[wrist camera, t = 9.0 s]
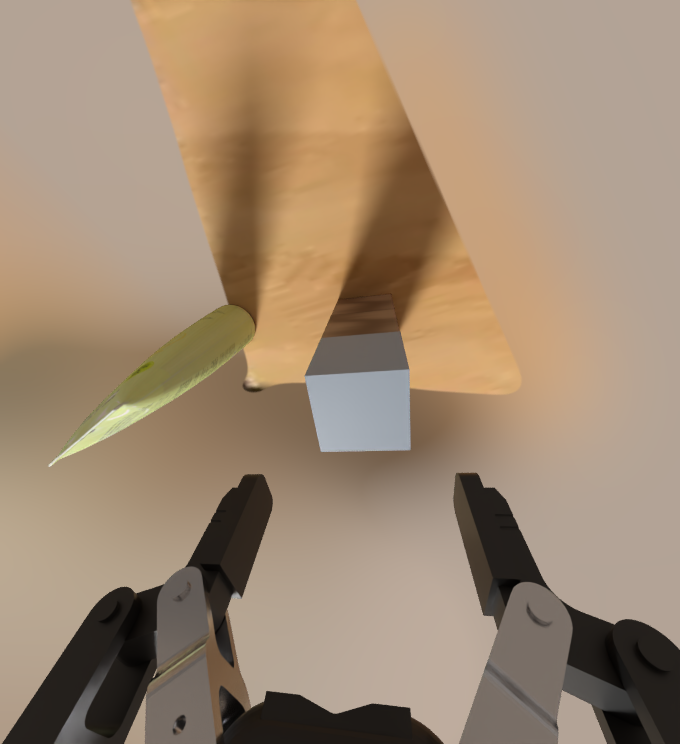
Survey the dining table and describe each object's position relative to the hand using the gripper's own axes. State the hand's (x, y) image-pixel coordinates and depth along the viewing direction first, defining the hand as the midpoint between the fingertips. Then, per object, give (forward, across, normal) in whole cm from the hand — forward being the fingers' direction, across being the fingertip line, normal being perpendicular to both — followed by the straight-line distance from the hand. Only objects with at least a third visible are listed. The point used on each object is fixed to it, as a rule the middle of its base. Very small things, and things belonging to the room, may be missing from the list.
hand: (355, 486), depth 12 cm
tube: (+22, +15, -1) cm, 26 cm away
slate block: (+10, 0, 0) cm, 10 cm away
